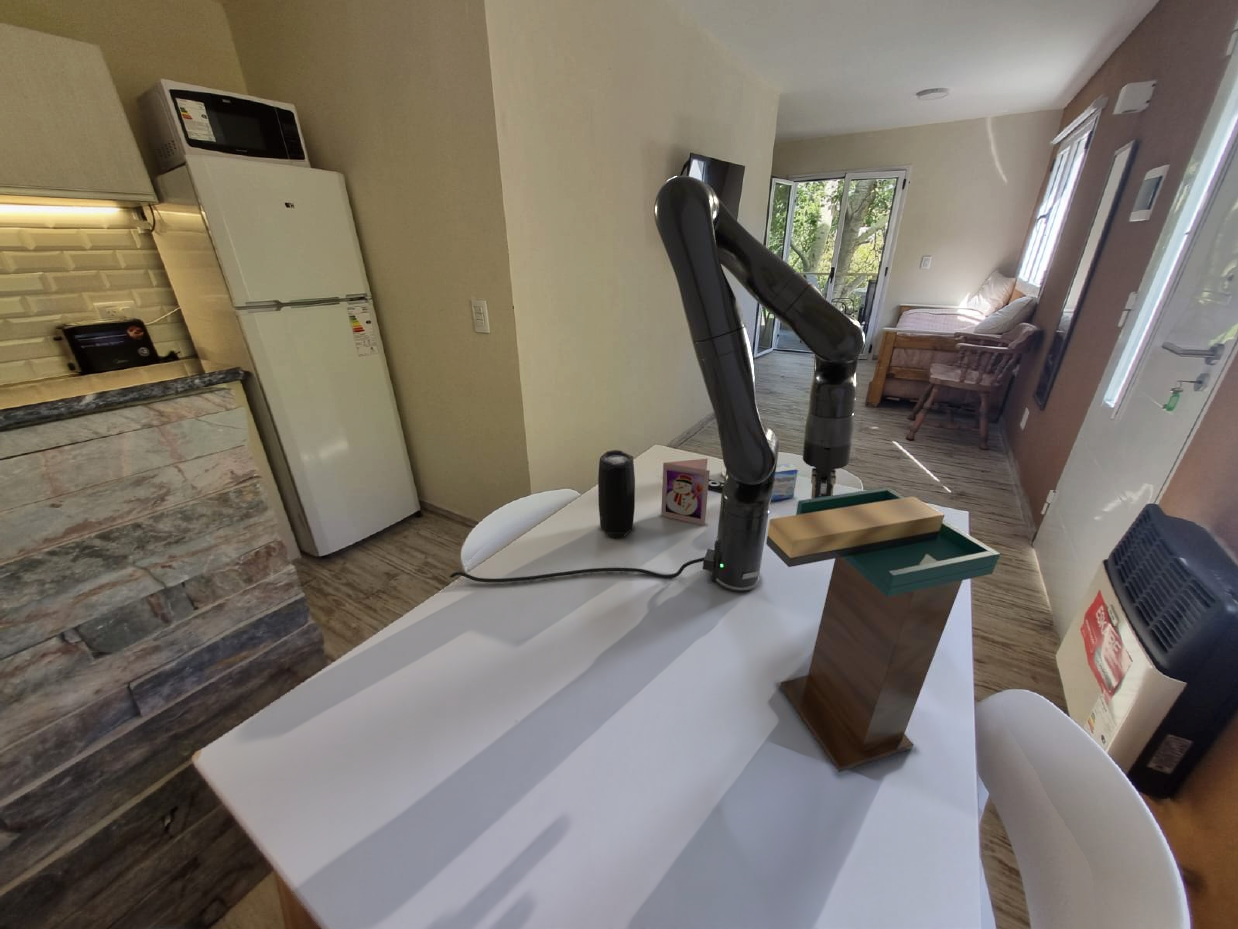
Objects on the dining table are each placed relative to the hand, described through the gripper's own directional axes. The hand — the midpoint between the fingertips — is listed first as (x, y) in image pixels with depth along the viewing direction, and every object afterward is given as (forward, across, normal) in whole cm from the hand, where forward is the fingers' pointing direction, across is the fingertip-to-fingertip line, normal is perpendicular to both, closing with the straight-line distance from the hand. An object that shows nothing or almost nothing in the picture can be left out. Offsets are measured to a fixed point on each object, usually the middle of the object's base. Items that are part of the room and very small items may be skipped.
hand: (818, 518), depth 89 cm
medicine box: (+17, -40, -10) cm, 44 cm away
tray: (-13, +28, +7) cm, 31 cm away
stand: (+18, +28, +4) cm, 33 cm away
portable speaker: (+14, -8, -45) cm, 48 cm away
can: (+16, -48, -23) cm, 55 cm away
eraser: (-15, +31, +3) cm, 34 cm away
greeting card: (+15, -21, -31) cm, 40 cm away
